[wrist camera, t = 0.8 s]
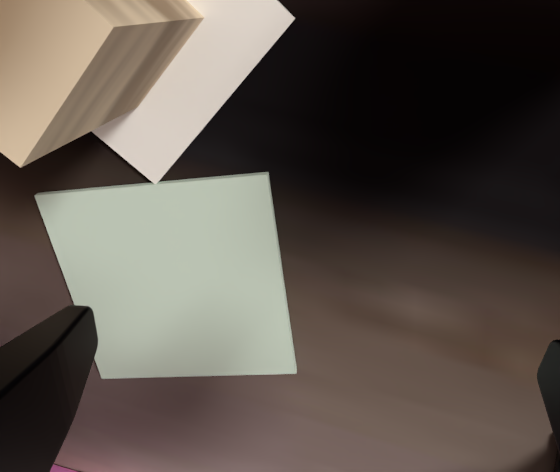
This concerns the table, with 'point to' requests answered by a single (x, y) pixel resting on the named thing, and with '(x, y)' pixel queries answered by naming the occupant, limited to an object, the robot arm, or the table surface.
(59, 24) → the oak block
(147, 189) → the felt mat
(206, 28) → the tile
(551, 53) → the table surface
